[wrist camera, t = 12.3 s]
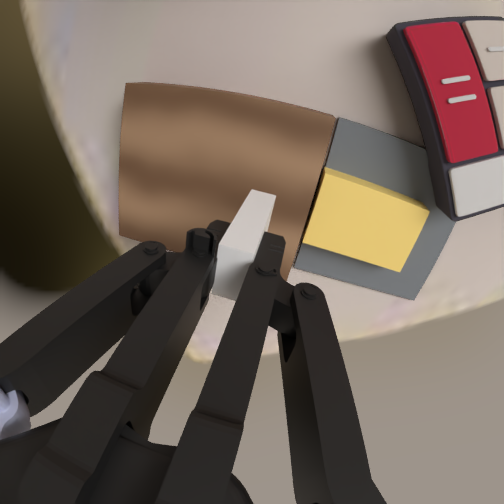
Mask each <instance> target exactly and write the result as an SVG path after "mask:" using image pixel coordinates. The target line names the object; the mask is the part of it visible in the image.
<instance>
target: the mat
mask: <svg viewBox="0 0 504 504" xmlns="http://www.w3.org/2000/svg"><path fill="white" fill-rule="evenodd" d="M325 167H327V168H330V169H333V170H336V171H339V172H342V173H345V174H348V175H351V176H354V177H357V178H360V179H363V180H366V181H368V182H371V183H374V184H377V185H379V186H382V187H385V188H387V189H390V190H393V191H395V192H398V193H400V194H403V195H405V196H408V197H410V198H413V199H415V200H418V201H420V202H422V203H423V204H424V205H425V206H426V207H427V209H428V210H429V211H430V213H429V215H428V217H427V219H426V221H425V223H424V226H423V228H422V230H421V232H420V234H419V236H418V238H417V240H416V242H415V244H414V246H413V248H412V250H411V252H410V254H409V256H408V258H407V260H406V262H405V264H404V266H403V267H402V269H401V271H400V272H397V271H394V270H391V269H387V268H384V267H381V266H378V265H375V264H371V263H368V262H365V261H362V260H359V259H355V258H352V257H349V256H346V255H342V254H339V253H336V252H332V251H329V250H326V249H323V248H319V247H316V246H313V245H309V244H306V243H302V244H301V247H300V250H299V253H298V256H297V259H296V262H295V265H294V268H297V269H301V270H304V271H308V272H312V273H315V274H319V275H322V276H326V277H330V278H333V279H337V280H341V281H344V282H348V283H352V284H355V285H359V286H363V287H366V288H370V289H374V290H377V291H381V292H385V293H388V294H392V295H396V296H399V297H403V298H407V299H410V300H415V298H416V296H417V295H418V293H419V291H420V289H421V288H422V286H423V284H424V283H425V281H426V279H427V277H428V276H429V274H430V272H431V270H432V268H433V266H434V265H435V263H436V261H437V259H438V257H439V255H440V253H441V251H442V249H443V247H444V245H445V243H446V241H447V239H448V237H449V235H450V233H451V231H452V229H453V227H454V225H455V223H456V222H454V221H452V220H451V219H450V218H448V217H447V216H446V215H445V214H444V213H443V212H442V211H441V210H440V209H439V208H438V207H437V206H436V202H435V197H434V192H433V187H432V182H431V177H430V172H429V168H428V155H427V151H426V149H424V148H421V147H419V146H417V145H414V144H412V143H409V142H407V141H405V140H402V139H400V138H397V137H395V136H392V135H389V134H387V133H384V132H381V131H379V130H376V129H373V128H370V127H367V126H365V125H362V124H359V123H356V122H353V121H349V120H346V119H343V118H340V117H339V119H338V123H337V127H336V130H335V134H334V138H333V141H332V145H331V148H330V152H329V155H328V159H327V162H326V166H325ZM302 242H303V241H302Z"/></svg>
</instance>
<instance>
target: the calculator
mask: <svg viewBox="0 0 504 504" xmlns="http://www.w3.org/2000/svg"><path fill="white" fill-rule="evenodd" d="M386 38H387V40H388V42H389V45H390V47H391V49H392V51H393V54H394V56H395V58H396V61H397V63H398V65H399V68H400V70H401V73H402V76H403V78H404V81H405V83H406V86H407V89H408V92H409V94H410V97H411V100H412V103H413V106H414V109H415V112H416V115H417V119H418V122H419V125H420V129H421V132H422V136H423V139H424V143H425V147H426V151H427V155H428V168H429V172H430V177H431V182H432V187H433V192H434V197H435V202H436V206H437V207H438V208H439V209H440V210H441V211H442V212H443V213H444V214H445V215H446V216H447V217H448V218H450V219H451V220H452V221H454V222H456V221H460V220H463V219H466V218H469V217H473V216H476V215H479V214H482V213H486V212H489V211H492V210H495V209H498V208H501V207H504V18H502V17H495V16H466V17H446V18H434V19H424V20H416V21H409V22H402V23H397V24H395V25H394V26H393V27H392V29H391V30H390V31H389V32H388V33H387V35H386Z"/></svg>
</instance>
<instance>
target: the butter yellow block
mask: <svg viewBox="0 0 504 504" xmlns="http://www.w3.org/2000/svg"><path fill="white" fill-rule="evenodd" d="M429 213H430V211H429V210H428V209H427V207H426V206H425V205H424V204H423V203H422V202H420V201H418V200H415V199H413V198H410V197H408V196H405V195H403V194H400V193H398V192H395V191H393V190H390V189H387V188H385V187H382V186H379V185H377V184H374V183H371V182H368V181H366V180H363V179H360V178H357V177H354V176H351V175H348V174H345V173H342V172H339V171H336V170H333V169H330V168H327V167H324V170H323V173H322V176H321V180H320V183H319V186H318V189H317V192H316V195H315V198H314V201H313V205H312V208H311V211H310V214H309V217H308V220H307V223H306V226H305V229H304V232H303V242H302V243H306V244H309V245H313V246H316V247H319V248H323V249H326V250H329V251H332V252H336V253H339V254H342V255H346V256H349V257H352V258H355V259H359V260H362V261H365V262H368V263H371V264H375V265H378V266H381V267H384V268H387V269H391V270H394V271H397V272H400V271H401V269H402V267H403V266H404V264H405V262H406V260H407V258H408V256H409V254H410V252H411V250H412V248H413V246H414V244H415V242H416V240H417V238H418V236H419V234H420V232H421V230H422V228H423V226H424V223H425V221H426V219H427V217H428V215H429Z"/></svg>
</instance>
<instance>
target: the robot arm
mask: <svg viewBox="0 0 504 504" xmlns="http://www.w3.org/2000/svg"><path fill="white" fill-rule="evenodd" d="M275 199H276V195H272V194H268V193H264V192H260V191H257V190H253V189H252V190H251V191H250V193H249V194H248V196H247V198H246V199H245V201H244V203H243V204H242V206H241V208H240V209H239V211H238V213H237V214H236V216H235V218H234V219H233V221H232V223H229V222H225V221H221V220H218V219H217V220H215V221H213V222H211V223H210V224H209V225H208V227H207V229H205V228H193V229H190V230H189V231H187V234H186V247H185V250H184V251H183V252H166V247H165V245H164V244H162V243H161V242H157V241H145V242H142V243H140V244H138V245H137V246H135V247H134V248H132V249H131V250H129V251H128V252H126V253H125V254H123V255H121V256H120V257H118V258H117V259H115V260H114V261H113V262H111V263H109V264H108V265H106V266H105V267H103V268H102V269H100V270H99V271H98V272H96V273H95V274H93V275H92V276H90V277H89V278H87V279H86V280H84V281H83V282H82V283H80V284H79V285H77V286H76V287H74V288H73V289H72V290H70V291H69V292H67V293H66V294H65V295H63V296H62V297H60V298H59V299H58V300H56V301H55V302H54V303H52V304H51V305H50V306H48V307H47V308H45V309H44V310H43V311H41V312H40V313H39V314H37V315H36V316H35V317H34V318H32V319H31V320H30V321H28V322H27V323H26V324H24V325H23V326H22V327H21V328H19V329H18V330H17V331H15V332H14V333H13V334H12V335H11V336H9V337H8V338H7V339H6V340H4V341H3V342H2V343H1V344H0V504H253V502H252V500H251V498H250V496H249V494H248V493H247V491H246V489H245V487H244V486H243V485H242V483H241V482H240V481H239V480H238V479H237V478H236V476H234V475H233V474H232V473H231V472H232V469H233V465H234V462H235V458H236V455H237V451H238V447H239V444H240V440H241V436H242V432H243V427H244V420H245V416H246V412H247V408H248V404H249V401H250V396H251V393H252V389H253V385H254V381H255V377H256V373H257V369H258V365H259V361H260V357H261V353H262V349H263V345H264V341H265V337H266V333H267V328H268V326H270V327H272V328H274V329H276V330H277V331H278V334H277V336H278V344H279V353H280V362H281V370H282V379H283V389H284V397H285V407H286V416H287V426H288V435H289V445H290V455H291V466H292V476H293V486H294V493H295V499H296V503H297V504H387V503H386V502H385V500H384V498H383V497H382V495H381V493H380V492H379V490H378V489H377V487H376V485H375V484H374V482H373V480H372V479H371V474H370V469H369V464H368V459H367V454H366V450H365V445H364V441H363V436H362V432H361V428H360V424H359V419H358V415H357V411H356V407H355V403H354V399H353V395H352V391H351V387H350V383H349V379H348V376H347V372H346V368H345V364H344V361H343V357H342V353H341V350H340V346H339V343H338V339H337V336H336V332H335V329H334V325H333V322H332V318H331V315H330V312H329V308H328V305H327V302H326V299H325V295H324V293H323V292H322V290H321V289H320V288H318V287H317V286H315V285H313V284H310V283H299V284H296V286H293V285H291V284H289V283H288V282H286V281H285V280H284V279H283V278H282V276H281V274H280V268H281V264H282V259H283V254H284V250H285V245H286V241H285V239H284V237H283V236H280V235H276V234H273V233H269V232H267V231H268V227H269V223H270V219H271V215H272V211H273V207H274V203H275ZM211 289H212V294H214V295H218V296H221V297H224V298H228V299H231V300H235V301H236V302H235V305H234V308H233V310H232V313H231V315H230V318H229V321H228V323H227V326H226V329H225V331H224V334H223V336H222V339H221V342H220V344H219V347H218V349H217V352H216V355H215V357H214V360H213V362H212V365H211V368H210V371H209V373H208V375H207V378H206V381H205V383H204V386H203V389H202V391H201V394H200V396H199V399H198V402H197V404H196V407H195V409H194V410H193V411H192V412H191V414H190V416H189V418H188V420H187V423H186V425H185V428H184V431H183V433H182V436H181V438H180V441H179V443H178V446H169V445H162V444H155V443H151V442H149V441H148V437H149V434H150V427H151V424H152V421H153V419H154V417H155V414H156V412H157V410H158V408H159V405H160V403H161V401H162V399H163V397H164V394H165V392H166V390H167V388H168V386H169V384H170V381H171V379H172V377H173V375H174V373H175V371H176V369H177V366H178V364H179V362H180V360H181V358H182V356H183V354H184V351H185V349H186V347H187V345H188V343H189V341H190V339H191V336H192V334H193V332H194V330H195V328H196V326H197V324H198V322H199V320H200V317H201V315H202V313H203V311H204V309H205V307H206V305H207V303H208V300H209V293H210V291H211ZM124 335H125V336H124ZM123 336H124V338H123V339H122V341H121V342H120V344H119V345H118V347H117V348H116V350H115V351H114V353H113V354H112V356H111V358H110V359H109V361H108V362H107V364H106V366H105V367H104V368H103V370H101V371H94V372H92V373H91V374H90V375H89V376H88V377H87V378H86V380H85V382H84V383H83V385H82V386H81V388H80V390H79V391H78V393H77V394H76V396H75V398H74V399H73V401H72V403H71V404H70V406H69V408H68V409H67V411H66V413H65V414H64V416H63V418H60V419H58V420H55V421H52V422H50V423H47V424H45V425H42V426H39V427H37V428H34V429H31V430H30V428H31V423H30V417H32V416H34V415H36V414H38V413H39V412H41V411H42V410H43V409H45V408H46V407H47V406H49V405H50V404H51V403H52V402H54V401H55V400H56V399H57V398H58V397H59V396H60V395H61V394H62V393H63V392H64V391H65V390H66V389H67V388H68V387H69V386H70V385H72V384H73V383H74V382H75V381H76V380H77V379H78V378H79V377H80V376H81V375H82V374H83V373H84V372H85V371H86V370H87V369H89V368H90V367H91V366H92V365H93V364H94V363H95V362H96V361H97V360H98V359H99V358H100V357H101V356H103V354H105V353H106V352H107V351H108V350H109V349H110V348H111V347H112V346H113V345H114V344H116V342H118V341H119V340H120V339H121V338H122V337H123Z"/></svg>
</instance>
